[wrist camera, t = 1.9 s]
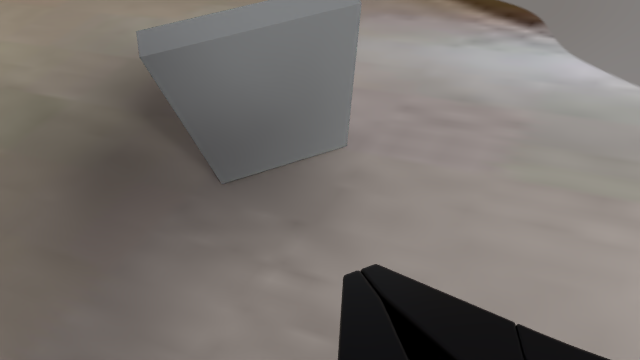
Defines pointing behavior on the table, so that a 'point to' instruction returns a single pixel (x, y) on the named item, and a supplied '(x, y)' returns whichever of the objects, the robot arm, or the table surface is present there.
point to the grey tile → (259, 80)
